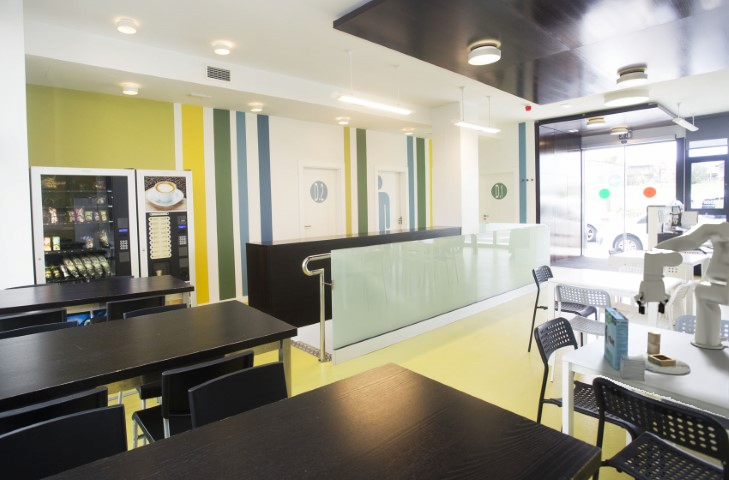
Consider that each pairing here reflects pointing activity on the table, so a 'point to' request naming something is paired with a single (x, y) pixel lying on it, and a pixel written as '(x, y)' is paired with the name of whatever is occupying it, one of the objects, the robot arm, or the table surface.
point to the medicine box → (632, 368)
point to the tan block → (653, 343)
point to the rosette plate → (665, 364)
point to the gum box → (615, 336)
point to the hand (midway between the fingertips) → (651, 313)
